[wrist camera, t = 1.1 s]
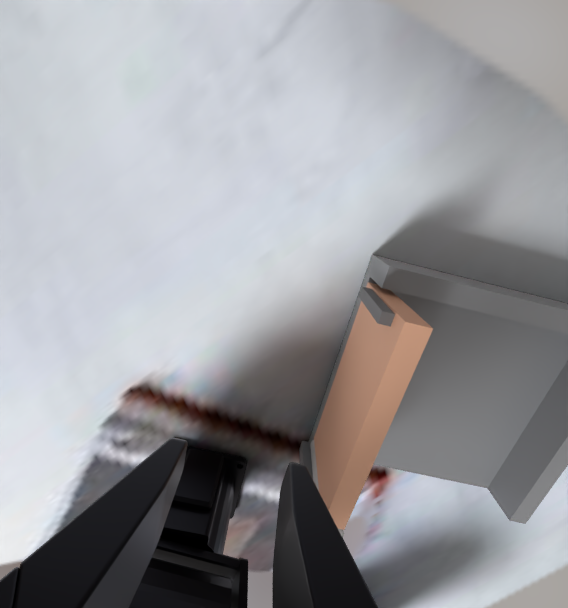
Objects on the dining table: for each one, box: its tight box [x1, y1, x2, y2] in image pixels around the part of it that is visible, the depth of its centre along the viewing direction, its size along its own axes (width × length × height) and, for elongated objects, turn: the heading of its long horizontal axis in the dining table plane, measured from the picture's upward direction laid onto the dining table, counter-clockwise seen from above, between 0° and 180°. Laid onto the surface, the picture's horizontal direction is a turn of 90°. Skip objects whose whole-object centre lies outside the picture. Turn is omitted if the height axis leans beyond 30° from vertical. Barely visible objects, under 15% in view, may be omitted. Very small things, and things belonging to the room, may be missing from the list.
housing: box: [299, 255, 568, 524], centre depth 18 cm, size 16×16×8 cm
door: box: [310, 282, 433, 538], centre depth 17 cm, size 13×2×6 cm, turn 166°
